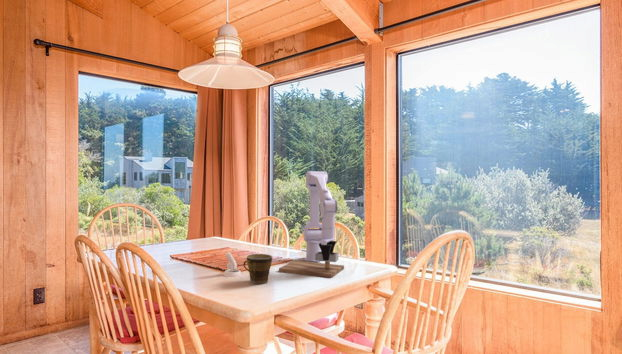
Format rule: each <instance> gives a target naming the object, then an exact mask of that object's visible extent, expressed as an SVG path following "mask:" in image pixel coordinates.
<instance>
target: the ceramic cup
mask: <svg viewBox="0 0 622 354" xmlns="http://www.w3.org/2000/svg"><path fill="white" fill-rule="evenodd" d="M272 263H273V255H270V254H268V253H267V254H265V253H254V254H249V255H247V256H246V260H244V262H243V268H244V269H246V270H247V272H248V274H249V280H250V284H253V285H264V284H267V283H268V281H269V275H270V269H271V267H272ZM246 264H247V267H246Z"/></svg>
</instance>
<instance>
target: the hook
mask: <svg viewBox="0 0 622 354" xmlns="http://www.w3.org/2000/svg"><path fill="white" fill-rule="evenodd" d="M225 257H226V258H227V260H228V263H227V265H226V267H227V269H226V270H224V272H223V276H224V277H228V278H236V277H240V276H242V275H243V274H242V271H241V270H240V269H238V264H237V262H236V260H235V258H234V256H233V254H232V253H231V252H229V251H227V252H225Z"/></svg>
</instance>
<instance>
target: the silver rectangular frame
mask: <svg viewBox="0 0 622 354" xmlns="http://www.w3.org/2000/svg"><path fill="white" fill-rule="evenodd" d="M315 261H319V262H325V261H326V260H323V257H322V252H317V253H316V254H315ZM338 261H339V252H334V251H333V252H330V254H329V259H328V261H326V262H331V263H336V262H338Z"/></svg>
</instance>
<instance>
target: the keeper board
mask: <svg viewBox="0 0 622 354" xmlns="http://www.w3.org/2000/svg"><path fill="white" fill-rule="evenodd" d="M343 270H345V265H342V264H335V263H334V264H333V263H330V262H326V261H324V262H313V261H304V260H292V261H291V262H289V263H286V264H285V265H282V266H280V267H278V272H279V273H285V274H286V273H288V274H295V275H296V274H297V275H302V276H303V275H305V276H313V277H319V276H320V277H321V278H328V279H329V278H330V279H333V277H335V276H336V275H338V274H339V273H340V272H342V271H343Z"/></svg>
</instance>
